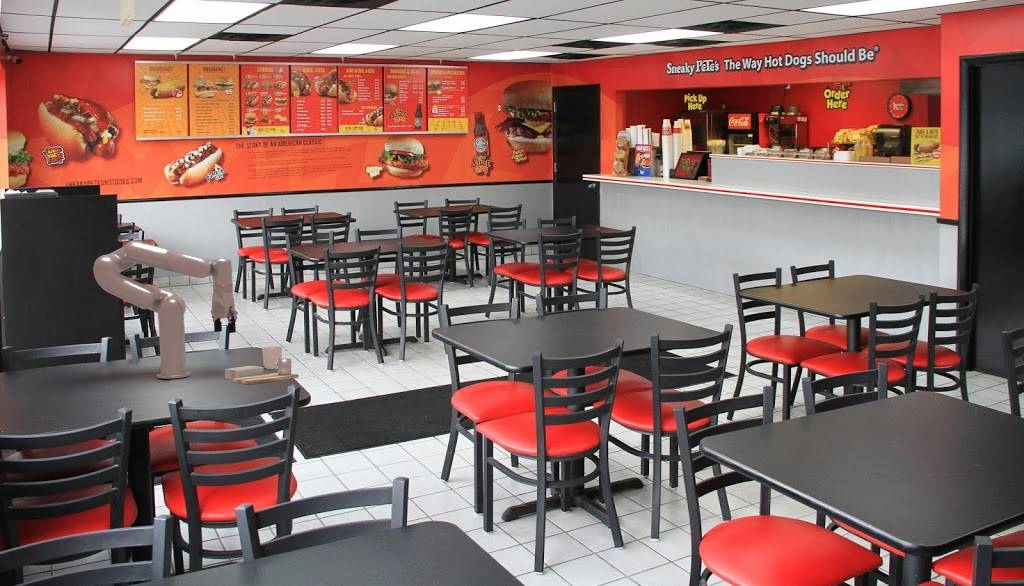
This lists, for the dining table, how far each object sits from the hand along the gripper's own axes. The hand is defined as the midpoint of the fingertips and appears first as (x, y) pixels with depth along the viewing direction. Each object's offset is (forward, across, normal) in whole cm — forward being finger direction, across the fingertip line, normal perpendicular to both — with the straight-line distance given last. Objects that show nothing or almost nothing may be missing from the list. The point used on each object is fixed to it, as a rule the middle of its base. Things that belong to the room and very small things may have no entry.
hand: (225, 332), depth 391 cm
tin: (+16, +26, +9) cm, 32 cm away
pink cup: (+18, +6, +18) cm, 26 cm away
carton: (+18, +13, 0) cm, 22 cm away
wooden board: (+17, +24, +2) cm, 30 cm away
